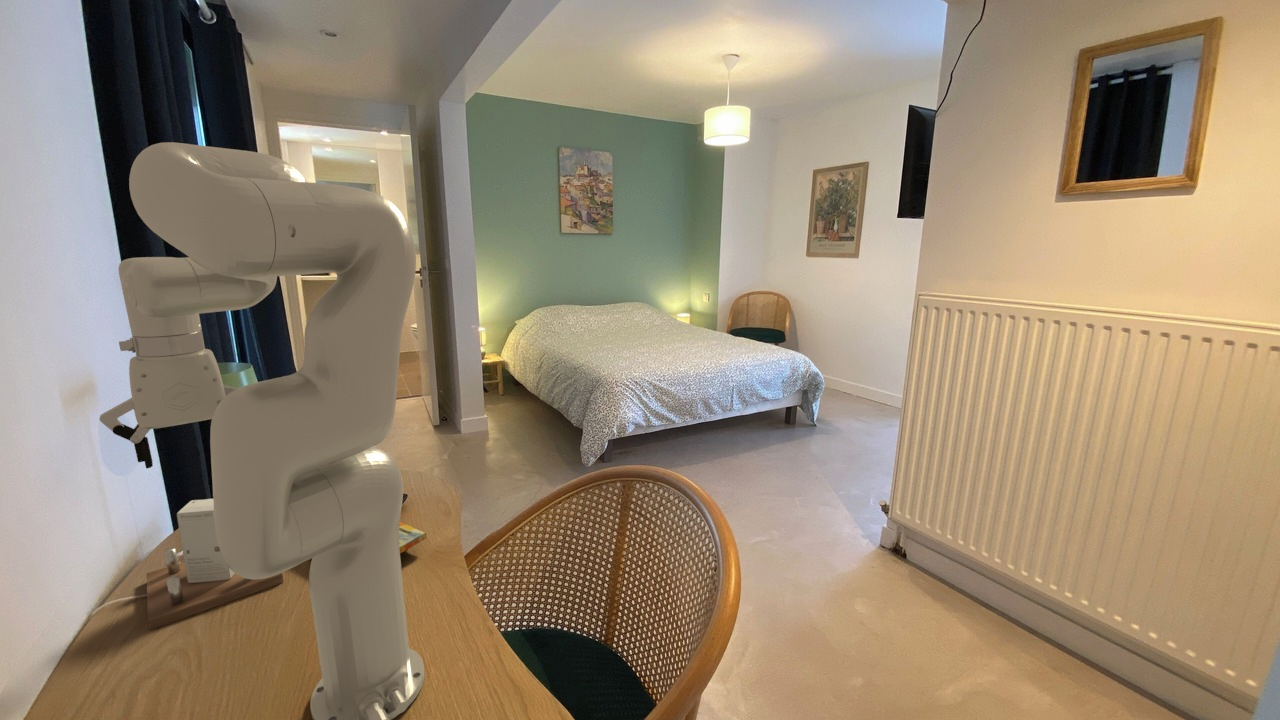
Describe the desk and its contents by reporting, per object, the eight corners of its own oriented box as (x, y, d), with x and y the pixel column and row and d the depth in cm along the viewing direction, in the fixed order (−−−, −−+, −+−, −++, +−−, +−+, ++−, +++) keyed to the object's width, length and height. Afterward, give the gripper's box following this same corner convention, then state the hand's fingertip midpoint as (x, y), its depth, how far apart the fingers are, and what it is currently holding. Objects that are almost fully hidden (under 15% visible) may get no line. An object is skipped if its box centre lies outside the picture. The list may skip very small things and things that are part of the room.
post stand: (283, 582, 86) (278, 552, 85) (149, 629, 75) (142, 596, 74) (268, 544, 96) (263, 516, 95) (148, 581, 85) (141, 551, 84)
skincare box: (186, 584, 83) (172, 514, 80) (202, 567, 87) (189, 499, 84) (232, 579, 84) (219, 510, 81) (245, 562, 88) (234, 496, 85)
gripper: (82, 358, 68) (111, 482, 72) (248, 341, 79) (265, 449, 83) (86, 348, 73) (113, 464, 77) (241, 334, 85) (257, 435, 89)
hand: (192, 456), depth 80 cm, fingers open, 9 cm apart
